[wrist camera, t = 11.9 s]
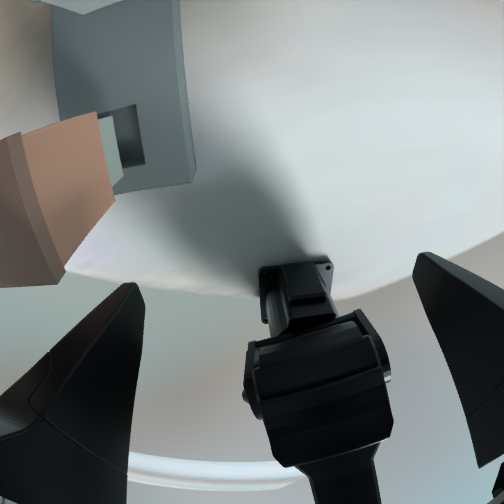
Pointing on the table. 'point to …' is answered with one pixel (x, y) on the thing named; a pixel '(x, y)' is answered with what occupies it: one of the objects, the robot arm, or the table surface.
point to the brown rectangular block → (53, 195)
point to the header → (129, 85)
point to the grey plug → (80, 4)
